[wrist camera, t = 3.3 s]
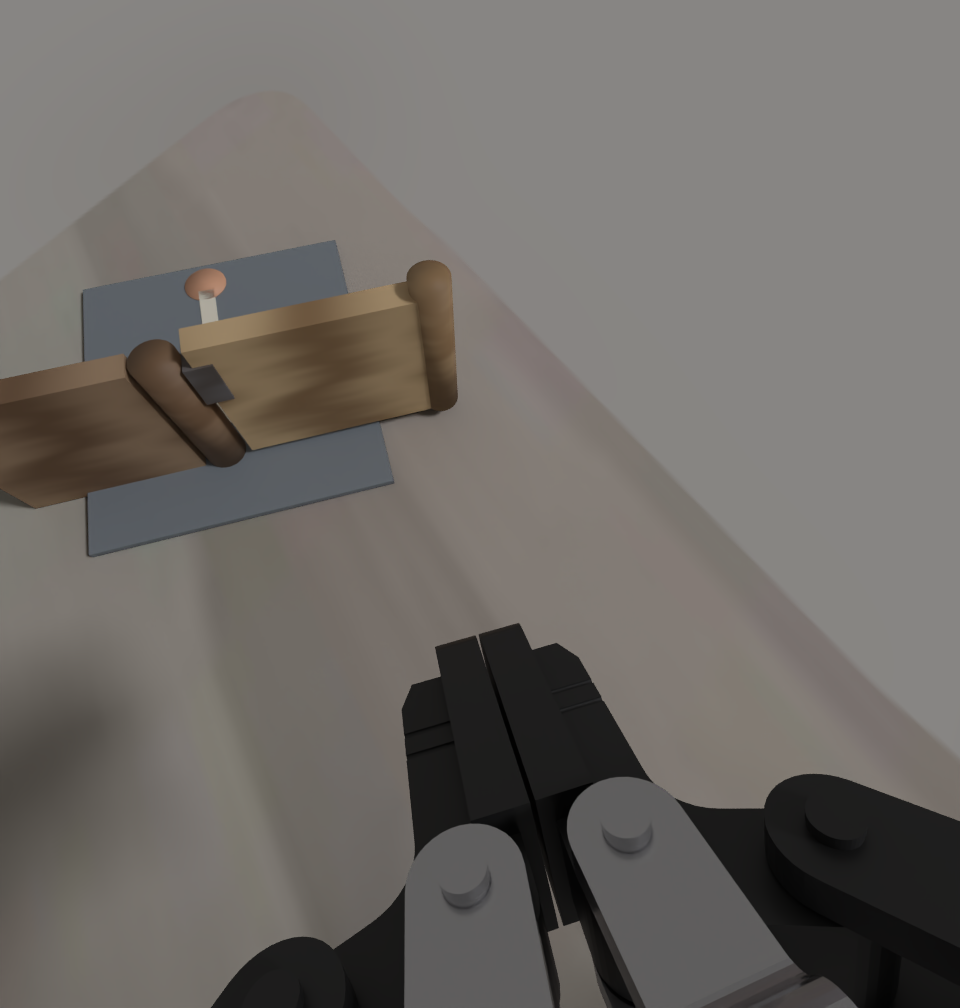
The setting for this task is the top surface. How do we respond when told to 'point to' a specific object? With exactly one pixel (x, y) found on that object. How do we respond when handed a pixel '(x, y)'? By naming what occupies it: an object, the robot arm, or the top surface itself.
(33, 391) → the fence fixed
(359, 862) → the top surface
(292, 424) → the fence gate
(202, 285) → the board
